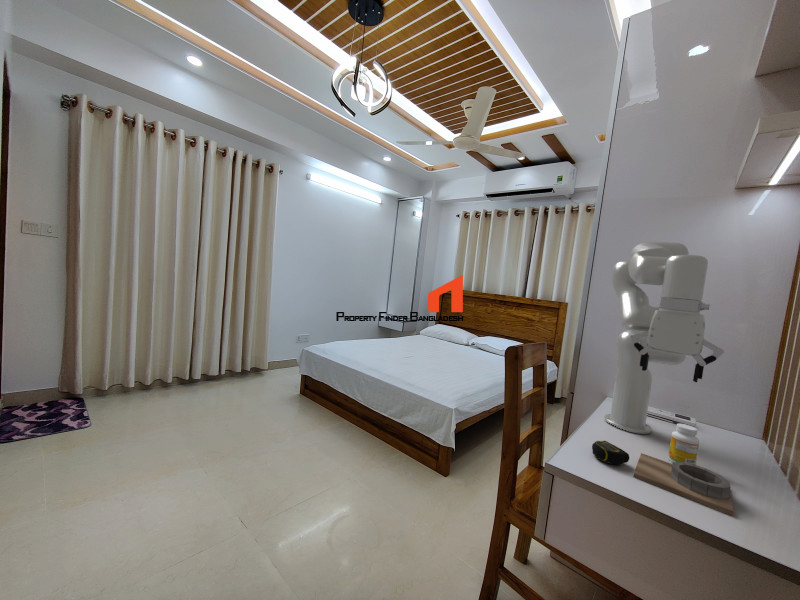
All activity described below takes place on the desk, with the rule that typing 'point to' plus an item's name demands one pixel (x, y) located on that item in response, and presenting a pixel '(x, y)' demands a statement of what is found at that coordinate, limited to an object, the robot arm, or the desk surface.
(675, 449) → the supplement bottle
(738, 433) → the desk surface
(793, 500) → the desk surface
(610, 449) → the tape measure
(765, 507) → the desk surface
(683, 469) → the holder
